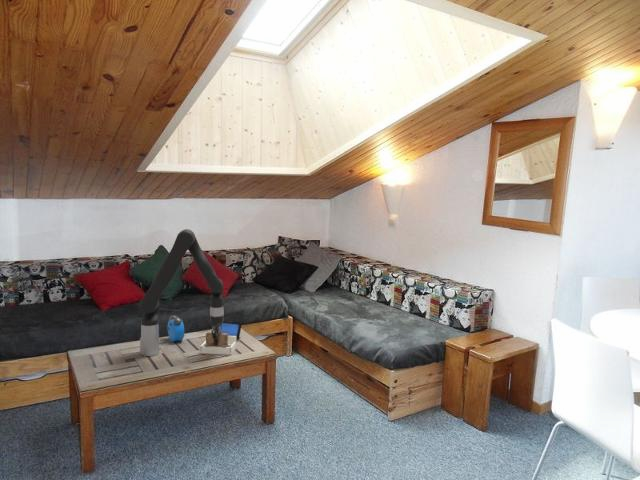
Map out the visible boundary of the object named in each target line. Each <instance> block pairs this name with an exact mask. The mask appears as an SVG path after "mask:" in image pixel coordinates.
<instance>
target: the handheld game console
mask: <svg viewBox="0 0 640 480" xmlns="http://www.w3.org/2000/svg"><path fill="white" fill-rule="evenodd" d="M221 324H222V330H221V333H228V336H236V342H237V341H239V340H240V336H241V330H242V327H243V326H242V323H240V322H228V321H224V322H223V323H221Z"/></svg>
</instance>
